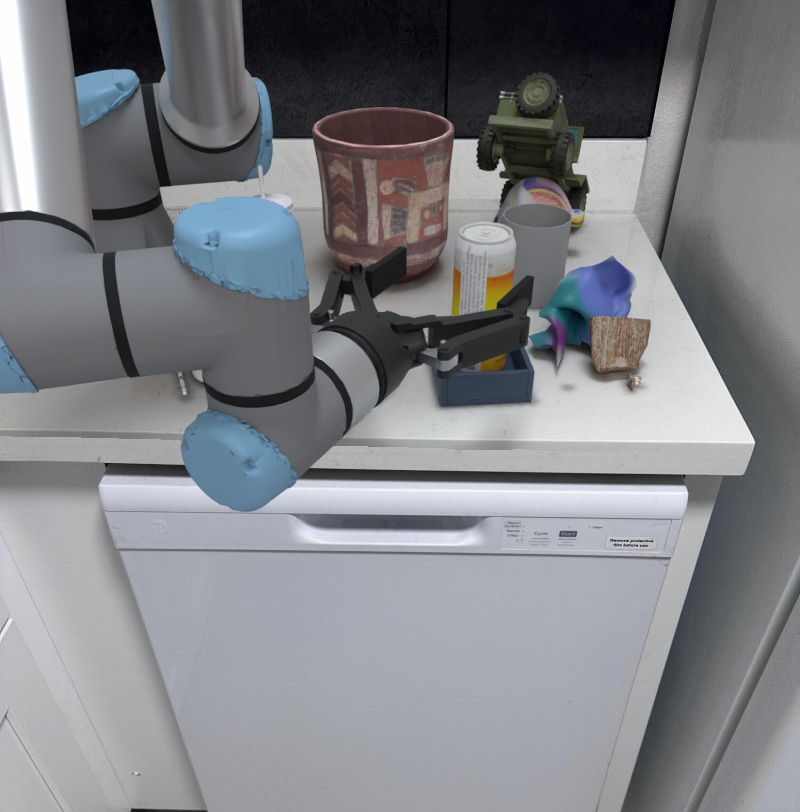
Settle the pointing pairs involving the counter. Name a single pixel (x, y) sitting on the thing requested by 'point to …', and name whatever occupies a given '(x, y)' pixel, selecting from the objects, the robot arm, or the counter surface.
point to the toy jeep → (534, 139)
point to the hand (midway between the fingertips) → (464, 274)
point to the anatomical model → (539, 198)
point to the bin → (489, 382)
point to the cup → (539, 246)
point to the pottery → (384, 185)
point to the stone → (618, 342)
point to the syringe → (182, 384)
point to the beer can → (482, 274)
